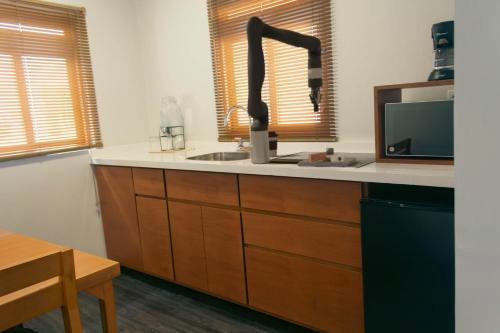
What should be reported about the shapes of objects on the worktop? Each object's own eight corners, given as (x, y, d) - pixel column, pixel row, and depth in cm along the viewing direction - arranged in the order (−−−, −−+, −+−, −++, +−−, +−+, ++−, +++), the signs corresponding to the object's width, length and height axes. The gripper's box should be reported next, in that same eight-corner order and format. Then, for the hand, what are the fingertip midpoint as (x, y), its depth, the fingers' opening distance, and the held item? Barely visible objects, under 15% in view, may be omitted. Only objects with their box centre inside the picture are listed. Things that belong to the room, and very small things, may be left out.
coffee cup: (282, 155, 239) (281, 130, 237) (272, 157, 232) (270, 132, 230) (269, 155, 246) (268, 131, 244) (259, 157, 239) (257, 132, 237)
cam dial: (315, 162, 185) (315, 151, 184) (304, 161, 192) (304, 150, 191) (342, 157, 194) (341, 147, 193) (330, 156, 201) (330, 147, 200)
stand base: (298, 166, 193) (297, 156, 192) (310, 161, 208) (310, 151, 207) (346, 166, 181) (346, 156, 181) (356, 161, 196) (356, 151, 195)
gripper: (313, 79, 211) (314, 111, 213) (303, 78, 199) (304, 112, 202) (326, 77, 207) (327, 111, 209) (317, 76, 196) (318, 112, 198)
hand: (316, 111), depth 206 cm, fingers closed
